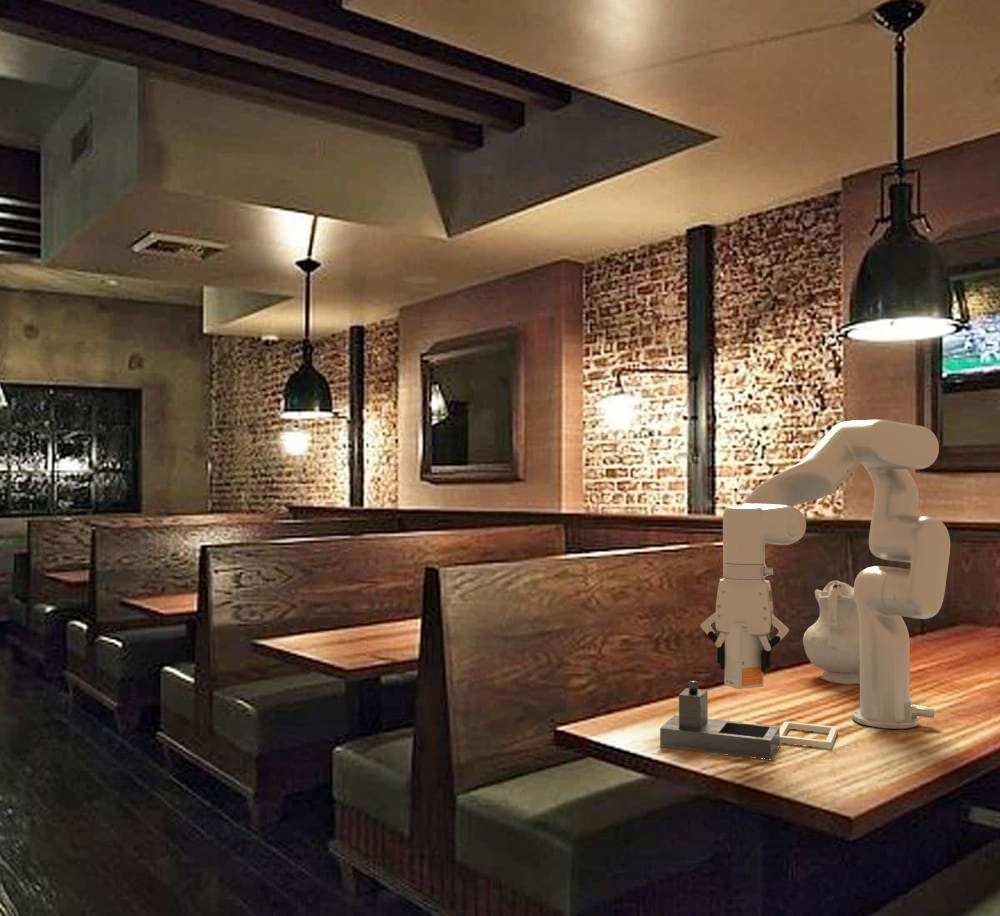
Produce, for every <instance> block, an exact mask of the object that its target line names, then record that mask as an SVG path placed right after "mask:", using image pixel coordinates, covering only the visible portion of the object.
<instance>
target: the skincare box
mask: <svg viewBox="0 0 1000 916" xmlns="http://www.w3.org/2000/svg"><path fill="white" fill-rule="evenodd" d="M762 650H763V645H762V643H761V641H760V639H759V637H758V636H751V635H749V633H748V628H747V624H746V623H736V622H733V623H732V625H731V630H730V633H728V634H726V638H725V669H724V677H723V678H724V682H723V683H724V685H725V686H727V687H729V688H734V689H737V690H742V689H750V688H751V689H752V688H753V689H754V688H763V687H764V673H763V672H761V651H762Z"/></svg>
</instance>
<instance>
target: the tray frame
mask: <svg viewBox="0 0 1000 916" xmlns="http://www.w3.org/2000/svg"><path fill="white" fill-rule="evenodd" d="M792 729H797V730H796V731H802V730H805V731H804V732H811V731H813V732H814V733H823V734H827V737H826V739H824V740H823V739H814V738H808V737H807V738H806V737H798V736H789V735H788V736H787V734H786V733H788V732H789V731H790V730H792ZM787 731H788V732H787ZM813 732H812V733H813ZM837 735H838V726H834V725H833V726H832V725H825V724H824V725H823V724H815V723H804V722H795V721H794V722H793V721H784V722H783V723H782V724H781V726H780V744H782V743H789V744H788V745H791V744H797V745H796V746H800V745H806V746H805V747H808V746H812V747H811V748H817V747H818V748H819V749H825V750H826V749H828V750H831V749H832V747H833V745H834V743H835V740H836V738H837Z"/></svg>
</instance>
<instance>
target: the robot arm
mask: <svg viewBox="0 0 1000 916" xmlns="http://www.w3.org/2000/svg"><path fill="white" fill-rule="evenodd" d="M939 450H940V445H939V441H938V438H937V436H936V434H935V433H934V432H933V431H932V430H931V429H929V428H927V427H925V426H922V425H915V424H911V423H905V422H904V423H903V422H898V421H894V420H893V421H892V420H884V419H867V420H865V419H863V420H850V421H849V420H848V421H843V422H842V421H841V422H840V423H836V424H835V425H834V426H832V427H831V429H829V431H827V433H826V434H825V435H824V436H823V437H822V438H821V439H820V440H819V441H818V442H817V443H816V444H815V446H814V447H813V448H812V449H811V450H810V451H809V452H808V453H807V454H806V455H805V456H804V457H803V458H802V459H801V461H799V462H798V463H796V464H795V465H794V466H790V467H789V468H787V469H785V470H783V471H782V472H780V473H778V474H776V475H775V476H772V477H771V478H768V479H767V480H766V481H764V482H763V483H761V484H760V485H759V486H757V487H756V488H754V490H752V491H751V493H750V494H748V495H747V497H746V498H745V499H744V500H743V501H742V502H741V503H740V505H734V506H733V505H732V506H727V507H726V508H725V509H724V510H723V514H722V578H719V581H718V586H717V593H716V600H715V601H716V603H715V612H713V613H712V614H711V615H710V616H708V617H707V618H706V619H705V620H704V621H703V622H701V623H700V626H699V627H700V628H701V629H702V630H703V631H704V633H705V634H706V635H707V637H708V638H709V639H710V640H711V641H712V642H713V643H714V645H715V647H717V659H716V660H717V664H718V665H719V667H720V670H725V638H726V634H728V633H730V630H731V625H732V623H733V622H736V623H746V624H747V628H748V633H749V635H751V636H758V637H759V639H760V641H761V643H762V645H763V650H762V651H761V672H763V673H765V674H766V673H767V672H768V670H769V669H771V667H772V649H773V648H775V647H776V645H777V644H779V643H780V642H781V641H782V639H784V638H785V636H786V635H787V634H789V632H790V629H789V627H787V625H785V624H784V623H783V622H782V621H781V620H780V619H778V617H776V615H774V603H773V593H772V587H771V582H770V580H766V577H767V576H773V575H774V569H773V567H769V566H767V564H766V560H765V559H766V558H765V557H766V544H768V545H778V546H787V545H792V544H794V543H797V542H798V541H799V540H801V539H802V538H803V536H804V535H805V533H806V530H807V522H806V521H807V520H806V518H805V515H804V514H803V513H802V512H801V511H800V510H799V509H798V508H796V507H795V506H797V505H801V504H804V503H805V504H806V503H809V502H813V501H816V500H820V499H822V498H826V497H827V496H829V495H831V494H833V493H834V492H835V491H836V490H837V488H838V487H839V486H840V485H841V484H842V483H843V482H844V481H845V480H846V478H847V477H848V476H849V475H850V474H851V473H852V472H853V470H854V469H856V468H857V466H859V465H860V464H861V465H862V466H863V467H864V469H865V471H866V472H867V474H868V476H869V477H870V479H871V481H872V485H873V491H874V495H873V506H872V514H871V521H870V527H869V534H868V546H869V547H868V548H869V551H870V552H871V554H872V555H873V556H874V557H876V558H878V559H881V560H884V561H885V560H886V561H892V562H893V561H894V562H903V563H910V568H903V567H894V566H883V565H882V566H881V565H874V566H869V567H866V568H864V569H862V570H861V571H860V572H859V573H858V574H857V575H856V577H855V580H854V583H853V587H854V596H855V601H856V605H857V610H858V616H859V631H860V684H859V709H856V710H854V711H852V713H851V718H852V721H854V722H856V723H858V724H861V725H863V726H864V725H865V726H868V727H873V728H880V729H892V730H893V729H895V730H903V729H904V730H905V729H912V728H914V727H917V726H918V725H919V718H918V717H921V718H927V719H935V708H931V707H928V706H924V705H923V706H919V705H916V704H915V703H913V699H912V698H911V686H910V685H911V683H910V682H911V681H910V680H911V679H910V677H911V673H910V672H911V670H910V669H911V668H910V667H911V663H910V660H911V659H910V652H911V651H910V649H911V648H910V646H911V644H910V641H911V640H910V635H909V630H908V628H907V625H906V622H905V621H904V618H903V617H905V618H912V619H920V620H921V619H922V620H927V619H931V618H933V617H934V616H936V615H937V614H938V612H939V611H940V609H941V608H942V605H943V602H944V597H945V593H946V586H947V585H946V584H947V577H948V570H949V569H948V568H949V561H950V554H951V537H950V533H949V531H948V528H947V526H946V525H945V523H943V522H942V521H941V520H940V519H938V518H936V517H933V516H927V515H918V507H919V498H920V497H919V489H918V485H917V483H916V482H915V480H914V478H913V476H912V475H911V474H910V472H909V471H908V470H923V469H926V468H929V467H930V466H932V465H933V464H934V463H935V461H936V460H937V458H938V456H939V452H940V451H939ZM713 623H714V626H715V629H716V631H717V632H719V634H718V633H717V632H716V631H715V630H714V629H713V628H712V624H713ZM774 628H776V629H777V631H778V632H777V633H776V634H775V635H774V637H772V638H770V633H771V632H773V631H774Z"/></svg>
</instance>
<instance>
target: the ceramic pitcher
mask: <svg viewBox="0 0 1000 916" xmlns="http://www.w3.org/2000/svg"><path fill="white" fill-rule="evenodd" d="M814 595H815V600H816V601H817V603H818V606H819V607H818V608H819V617H818V619H817V620H816V621H815V622H814V623H813V624H812V625H810V626H809V627H808V628H807V629H806V631H805V632H804V634H803V637H802V643H803V644H802V645H803V647H804V652H805V655H806V657H807V658H808V660H809V661H810V663H811V664H813V666H814V667H816V668H819V669H821V670H823V671H824V672H823V673H821V675H820V676H819V678H820V679H822V680H824V681H826V682H828V683H833V684H842V685H850V686H852V685H860V631H859V616H858V610H857V605H856V601H855V596H854V586H853V587H852V586H851V585H849V584H848V583H846V582H841V581H839V580H835V579H834V580H832V581H830V582H828V583H827V584H826V585H825V586H824V588H823V590H820V589H815V590H814Z"/></svg>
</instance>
